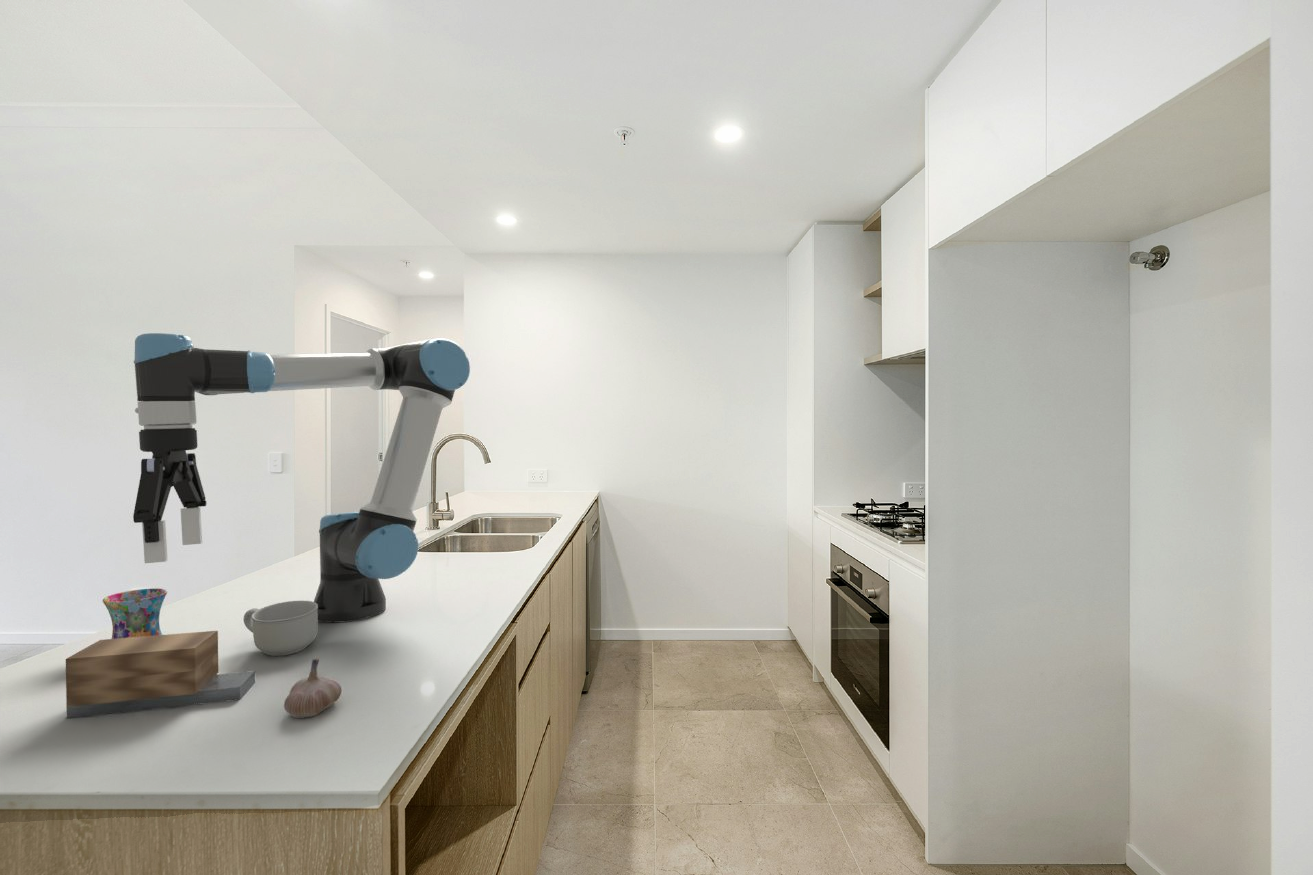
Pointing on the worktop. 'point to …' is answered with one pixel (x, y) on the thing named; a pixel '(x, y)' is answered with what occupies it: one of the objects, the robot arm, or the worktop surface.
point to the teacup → (283, 626)
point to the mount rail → (176, 697)
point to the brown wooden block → (141, 668)
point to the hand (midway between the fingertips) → (175, 552)
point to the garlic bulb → (312, 694)
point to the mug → (135, 612)
